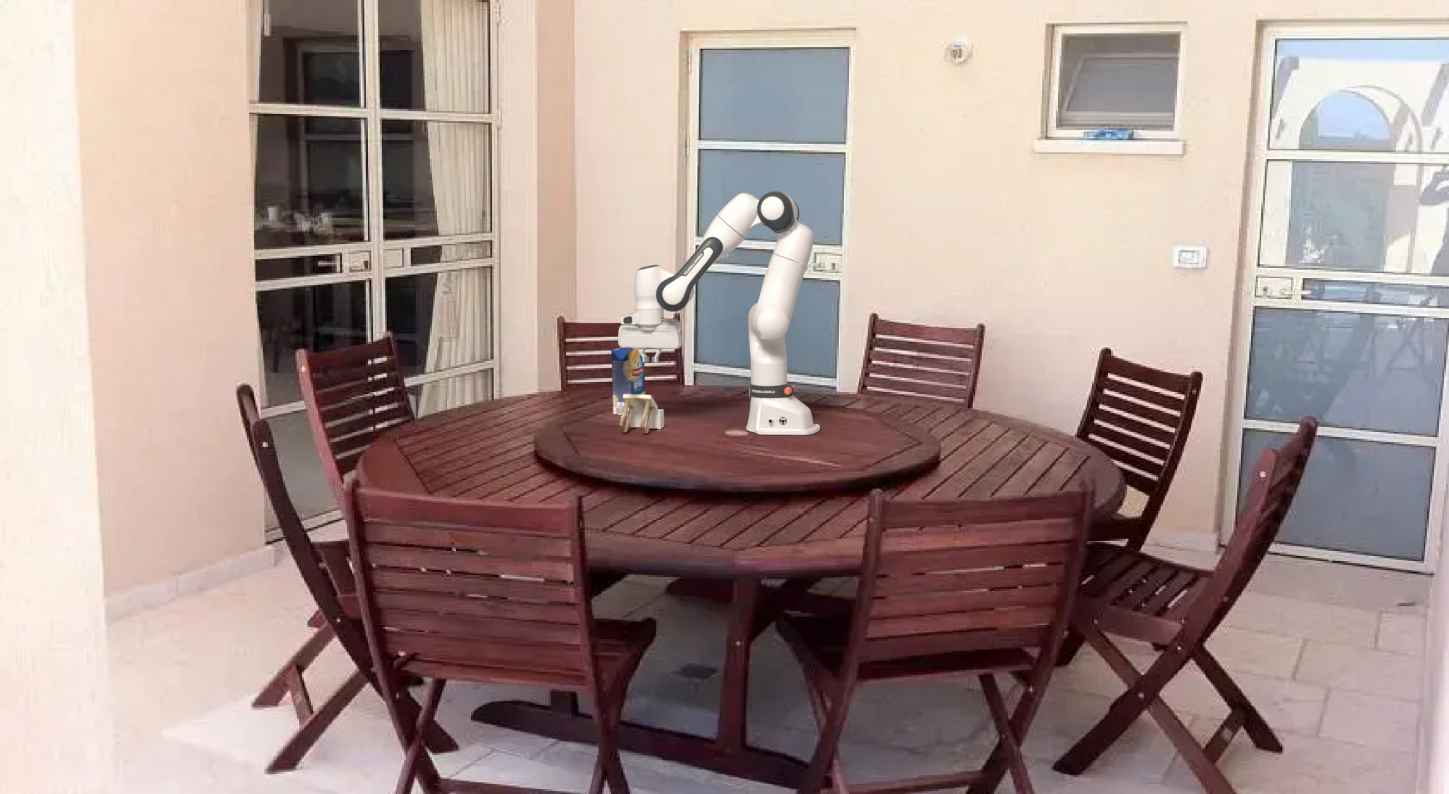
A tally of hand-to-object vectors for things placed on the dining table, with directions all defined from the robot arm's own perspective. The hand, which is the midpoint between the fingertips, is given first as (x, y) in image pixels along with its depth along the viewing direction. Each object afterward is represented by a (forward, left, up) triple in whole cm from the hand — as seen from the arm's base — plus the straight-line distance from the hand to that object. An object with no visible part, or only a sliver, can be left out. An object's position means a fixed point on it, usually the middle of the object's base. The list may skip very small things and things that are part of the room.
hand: (650, 362), depth 418 cm
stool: (0, +15, -18) cm, 24 cm away
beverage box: (+15, -18, -20) cm, 31 cm away
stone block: (0, +4, -20) cm, 20 cm away
